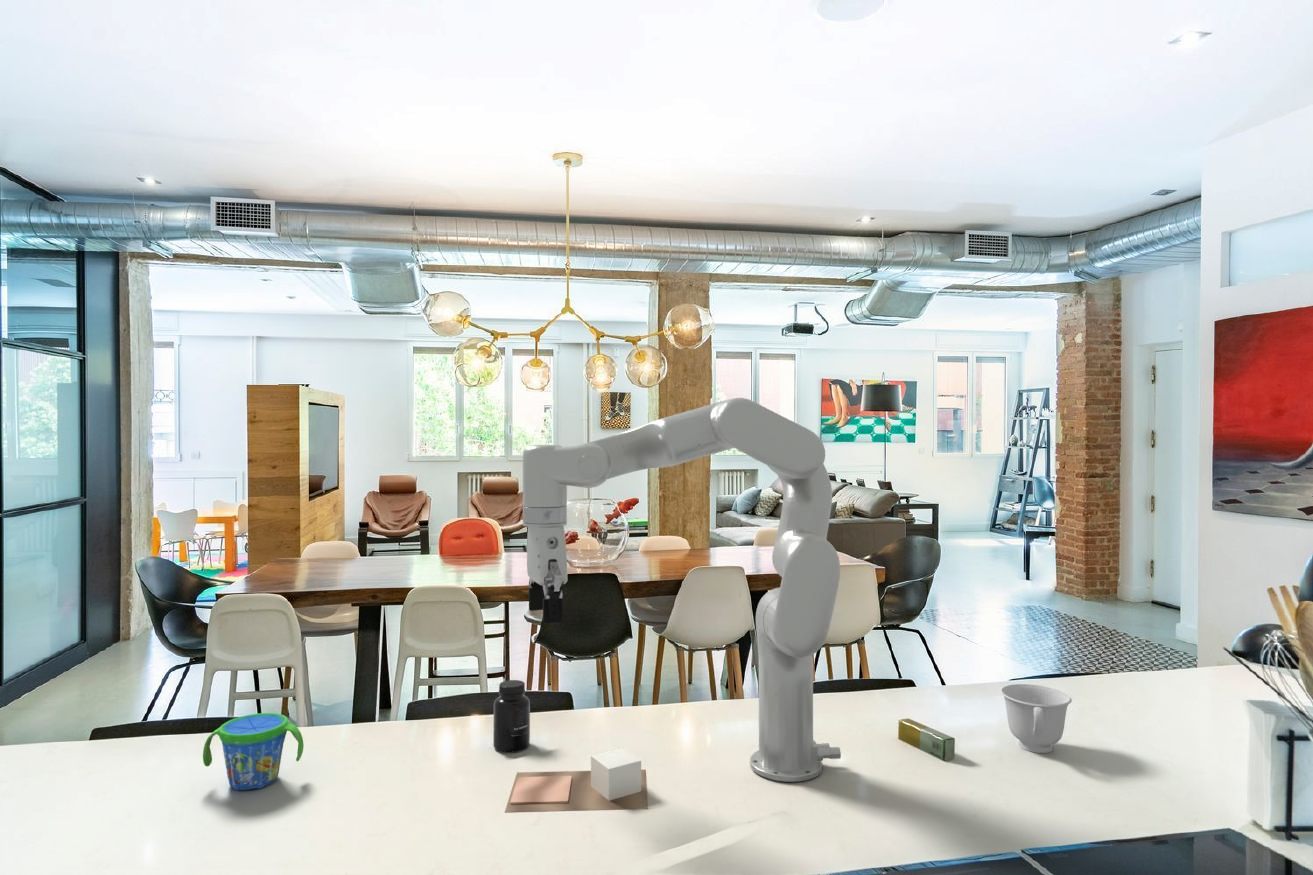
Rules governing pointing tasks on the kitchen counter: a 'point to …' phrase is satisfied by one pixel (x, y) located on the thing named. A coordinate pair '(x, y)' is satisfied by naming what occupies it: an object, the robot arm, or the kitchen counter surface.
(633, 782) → the matte white cube
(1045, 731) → the teacup
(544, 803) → the post board
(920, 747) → the medication box
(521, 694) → the supplement bottle
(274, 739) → the snack cup
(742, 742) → the kitchen counter surface
